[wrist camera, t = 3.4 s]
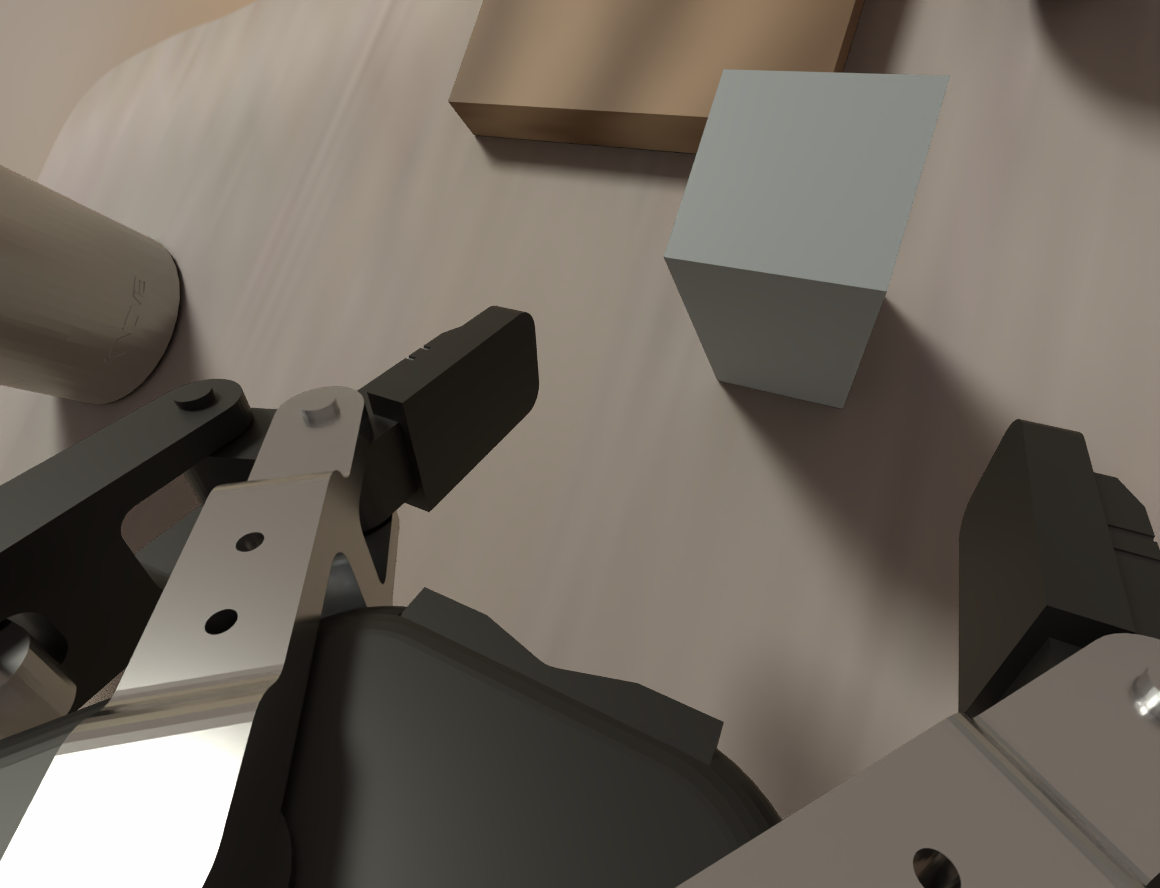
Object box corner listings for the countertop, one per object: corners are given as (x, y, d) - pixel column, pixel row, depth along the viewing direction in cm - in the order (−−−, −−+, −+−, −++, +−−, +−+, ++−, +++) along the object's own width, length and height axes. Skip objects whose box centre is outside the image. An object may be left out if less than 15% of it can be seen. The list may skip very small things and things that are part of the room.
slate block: (717, 380, 20) (663, 257, 11) (751, 270, 20) (723, 69, 12) (842, 409, 18) (886, 291, 10) (877, 289, 18) (950, 75, 10)
